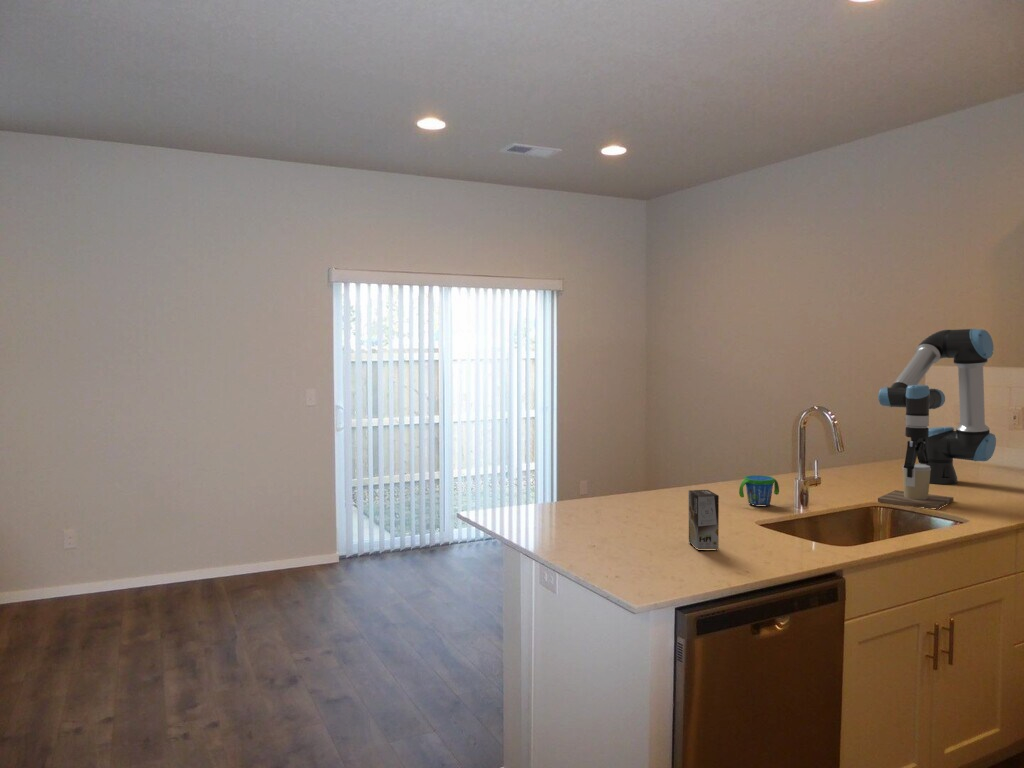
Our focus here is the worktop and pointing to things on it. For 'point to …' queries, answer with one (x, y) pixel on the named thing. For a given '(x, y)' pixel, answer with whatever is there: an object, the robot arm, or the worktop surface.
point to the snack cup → (759, 489)
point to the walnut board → (915, 500)
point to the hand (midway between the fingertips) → (916, 483)
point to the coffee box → (703, 519)
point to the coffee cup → (918, 483)
